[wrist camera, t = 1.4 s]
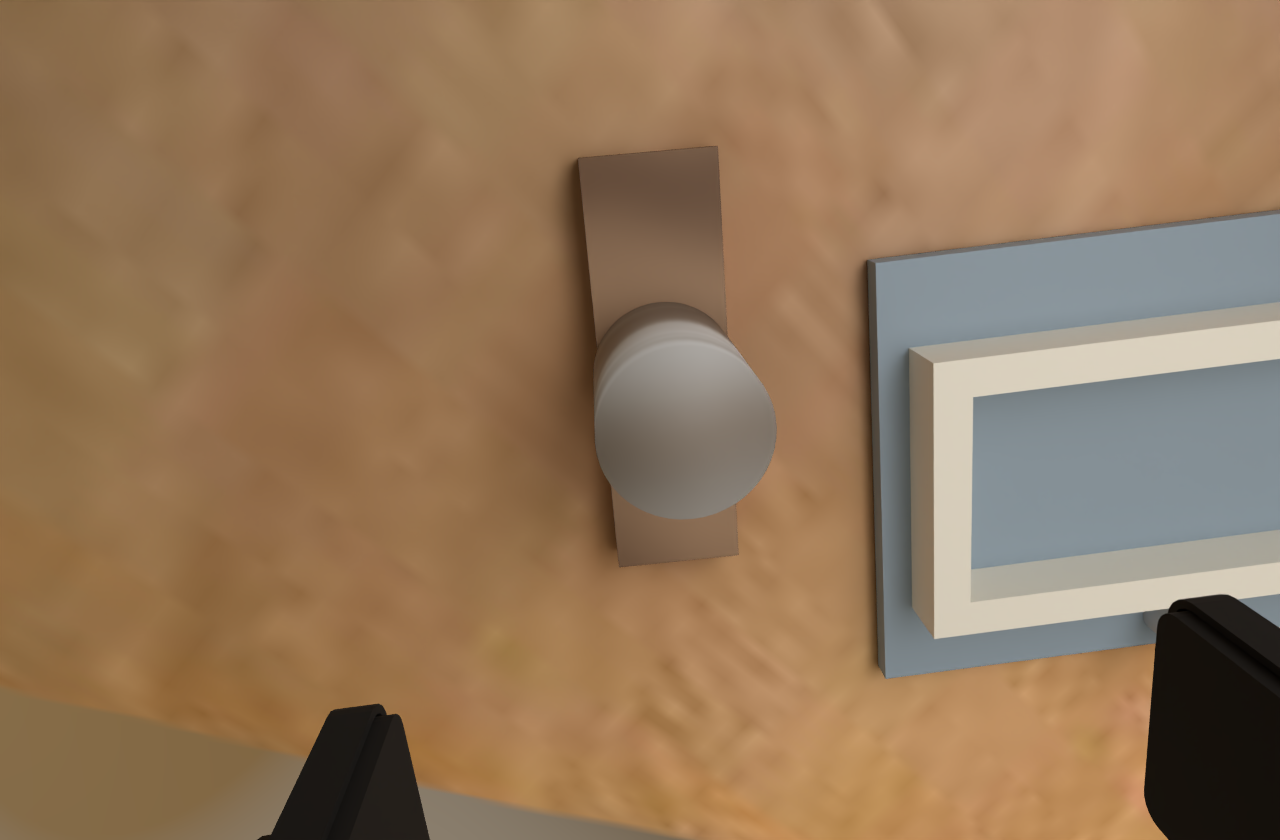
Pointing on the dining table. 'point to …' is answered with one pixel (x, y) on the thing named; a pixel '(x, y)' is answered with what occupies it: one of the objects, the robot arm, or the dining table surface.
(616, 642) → the dining table surface
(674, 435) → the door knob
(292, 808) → the robot arm
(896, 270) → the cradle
